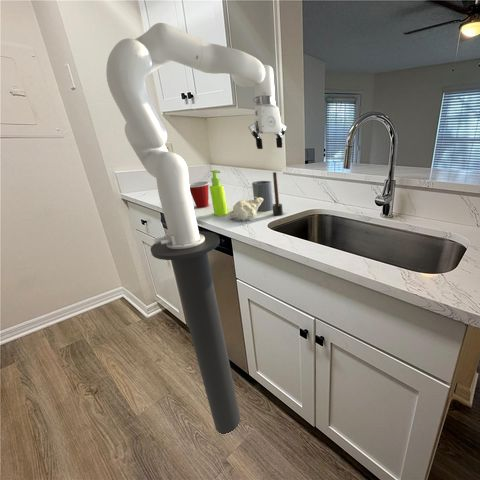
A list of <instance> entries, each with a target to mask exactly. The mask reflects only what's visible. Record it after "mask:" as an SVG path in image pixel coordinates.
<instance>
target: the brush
mask: <svg viewBox="0 0 480 480" xmlns="http://www.w3.org/2000/svg"><path fill="white" fill-rule="evenodd" d="M272 178H273V190H274V191H273V193H274V202H275V203H273V205H272V206H273V209H272V214H273V216H278V217H279V216H283V215H284V211H283V210H284V209H283V204H282V203H280V201H279V200H280V199H279V188H278V187H279V185H278V173H277V171H274V172H272Z"/></svg>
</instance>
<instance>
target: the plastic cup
mask: <svg viewBox="0 0 480 480" xmlns="http://www.w3.org/2000/svg"><path fill="white" fill-rule="evenodd" d="M209 184H210V182H209V181H197V182H192V183H189V187H190V192H191V197H192V201H193V203H194V204H195V207H196V208H198V209H202V208H207V207H209V198H210V197H209V188H210V185H209Z"/></svg>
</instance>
